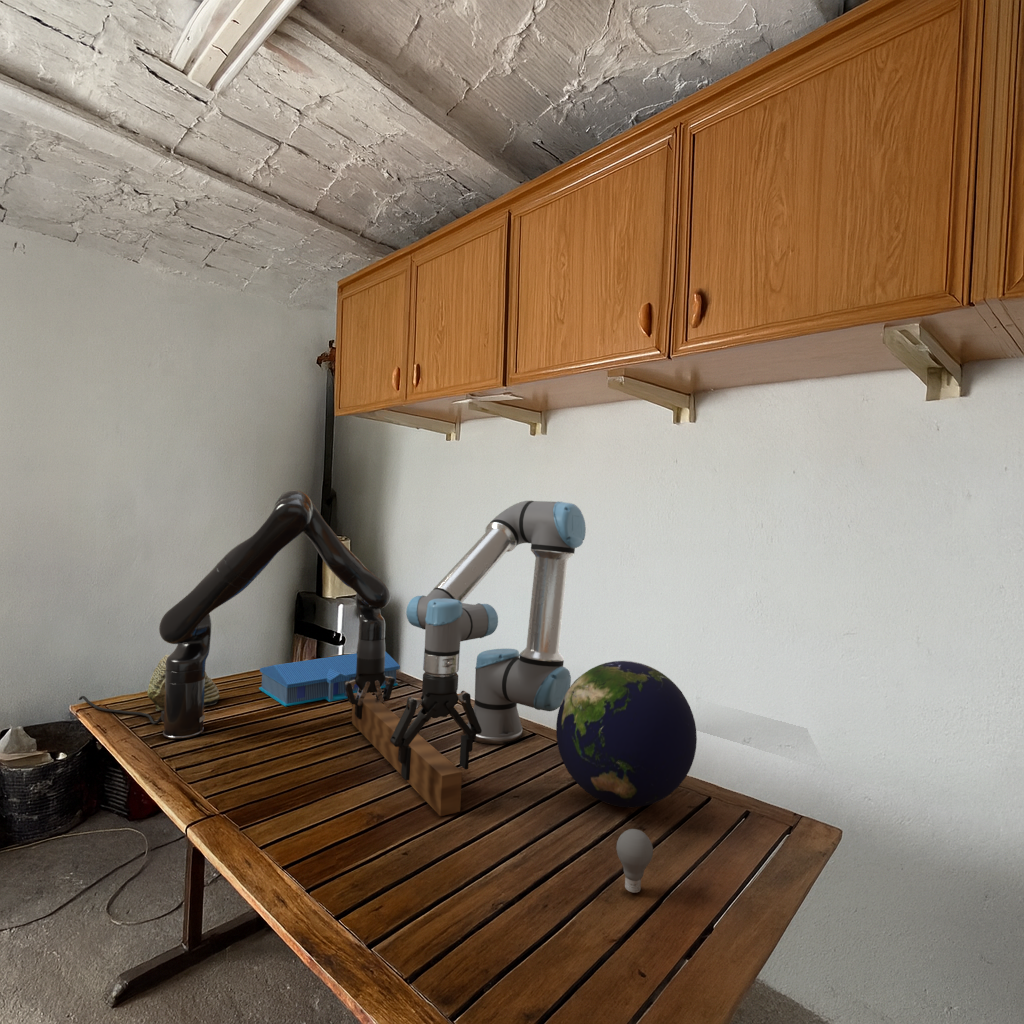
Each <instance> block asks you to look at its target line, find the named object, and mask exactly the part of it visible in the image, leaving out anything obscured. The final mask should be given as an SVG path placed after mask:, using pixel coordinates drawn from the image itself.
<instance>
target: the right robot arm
mask: <svg viewBox="0 0 1024 1024" xmlns="http://www.w3.org/2000/svg"><path fill="white" fill-rule="evenodd" d="M586 528H587V527H586V520H585V517H584V514H583V513H582V510H581V509H580V507H579V506H578V505H576V504H574V503H571V502H565V501H548V500H547V501H545V500H544V501H543V500H524V501H519V502H516V503H514V504H512V505H511V506H509V507H507V508H506V509H504V510H502V511H501V512H500V513H499V514H498V515H496V516H495V517H494V518H493V519H492V520H491V521H490V522H489V523H488V524H487V525H486V527H485V530H484V531H485V532H484V533H483V535H481V537H480V538H479V539H478V540H477V541H476V542H475V544H474V545H473V546H472V547H471V548H470V549H469V550H468V551H467V552H466V553H465V554H464V555H463V556H462V557H461V559H460V560H459V561H458V562H456V564H455V565H454V566H453V567H452V568H451V569H450V570H449V571H448V573H447V574H446V575H445V576H444V577H443V578H442V579H441V580H440V581H439V582H438V583H437V584H436V585H435V587H433V589H432V590H430V592H429V593H428V594H427V595H417V596H413V597H412V598H411V599H410V600H409V602H408V604H407V606H406V613H405V614H406V619H407V622H408V623H409V624H410V625H411V626H413V627H416V628H419V629H422V630H425V633H424V651H423V663H422V664H423V665H422V666H423V667H422V670H423V671H424V672H423V674H422V681H421V683H422V685H421V691H422V692H421V696H420V698H417V697H413V696H408V697H407V699H406V704H405V709H404V711H403V713H402V714H401V717H400V721H399V723H398V725H397V727H396V729H395V731H394V733H393V735H392V737H391V739H390V742H391V743H392V744H393V745H394V746H395V747H399V751H398V760H399V762H400V763H401V764H402V768H401V774H400V776H401V778H403V779H404V781H406V780H409V778H410V761H411V748H410V747H409V746H408V745H409V744H410V743H411V742H412V740H413V739H414V738H415V736H416V735H417V734H419V733H420V731H421V730H422V729H423V727H424V726H425V724H426V723H428V722H430V720H431V718H432V719H438V718H447V717H448V716H450V717H451V718H452V719H453V721H454V722H455V723H456V725H457V726H458V727H459V728H460V730H461V732H463V733H464V734H462V735H460V748H459V766H460V767H461V768H462V769H464V770H469V760H470V753H472V752H473V746H474V741H475V742H478V743H481V744H486V745H507V744H512V743H515V742H518V741H519V740H520V739H522V738H523V725H522V722H521V719H520V714H519V711H518V705H521V706H525V707H528V708H531V709H535V710H537V711H544V712H554V711H556V710H559V708H560V705H561V702H562V700H563V698H564V696H565V694H566V692H567V691H568V689H569V688H570V686H571V685H572V676H571V671H570V670H569V669H568V668H566V667H565V666H564V664H565V663H564V661H565V658H564V656H563V655H562V653H560V643H561V634H562V626H563V625H562V624H563V614H564V606H565V605H564V604H565V603H564V602H565V595H566V594H565V593H566V585H567V584H566V583H567V574H568V563H569V560H570V559H571V558H572V557H574V556H575V552H576V551H575V550H576V549H577V548H579V547H581V546H582V545H583V543H584V541H585V539H586V538H585V537H586ZM521 544H530V546H531V547H530V551H531V552H532V554H533V555H534V557H535V560H534V569H533V580H532V590H531V597H530V607H529V608H530V610H529V618H528V629H527V637H526V647H525V648H524V649H523V650H522V651H521V652H520V651H519V650H518V649H515V648H493V649H487V650H483V651H481V652H480V653H479V654H477V657H476V665H475V668H474V669H475V679H474V680H475V681H474V705H473V706H472V701H471V700H472V698H471V694H470V693H469V692H467V691H465V690H461V691H460V692H459V693H458V688H459V674H458V672H459V669H460V655H461V654H460V653H461V642H465V641H470V640H476V639H483V638H485V637H488V636H491V635H492V634H494V633H495V632H496V631H497V629H498V626H499V616H498V612H497V610H496V609H495V607H494V606H492V605H490V604H488V603H478V602H477V603H475V604H472V603H471V604H470V603H464V601H465V600H466V599H467V598H468V597H469V596H470V594H472V592H473V591H474V590H475V588H477V586H478V585H479V584H480V583H481V582H482V581H483V580H484V578H485V577H486V576H487V575H488V574H489V573H490V571H492V569H493V568H494V567H495V566H496V565H497V563H499V561H500V560H501V559H502V558H503V556H504V555H505V554H506V553H510V552H512V551H514V550H515V548H517V546H518V545H519V546H520V545H521ZM458 702H459V703H460V704H461V706H462V708H463V711H464V713H465V716H466V718H467V721H468V722H466V721H465V719H464V718H463V716H461V715H460V713H459V712H458V710H457V709H456V708H455V706H456V705H457V703H458ZM420 706H421V708H420V710H419V711H418V713H417V716H416V717H415V718H414V716H415V714H416V711H417V710H418V709H419V707H420ZM413 719H414V720H413ZM412 720H413V721H412ZM408 726H409V728H408ZM407 728H408V729H407Z"/></svg>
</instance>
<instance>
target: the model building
mask: <svg viewBox="0 0 1024 1024" xmlns="http://www.w3.org/2000/svg"><path fill="white" fill-rule="evenodd" d="M356 666H357V652H356V653H349V654H342V655H341V654H340V655H335V656H329V657H328V656H327V657H321V658H315V659H314V658H313V659H307V660H300V661H293V662H287V663H278V664H272V665H268V666H264V667H263V666H262V667H260V668H259V672H260V673H261V686H260V687H258V690H260V691H261V692H262V693H264V694H265V695H267V696H268V697H270V698H271V699H273V700H274V701H276V702H277V703H279V704H280V705H282V706H283V707H290V706H297V705H302V704H307V703H312V702H317V701H323V700H325V701H327V702H329V703H330V702H335V701H341V700H346V699H347V700H348V697H347V693H346V689H345V685H344V683H345V681H348V682H349V681H352V680H354V678H355V677H356ZM400 669H401V665H400V664H399V663H398V662H397V661H396V660H395V659H394V658H393V657H392V656H391V654H389V653H388V652H387V651H386V650H385V670H384V674H385V676H387V677H389V676H391V677H393V678H394V679H395V682H394V686H393V687H395V686H399V683H398V682H397V670H400ZM385 686H386V684H385V681H384V682H383V684H382V685H381V689H385ZM358 688H359V687H358V686H357V685H356V684H355V685H354V689H352V690H353V693H357V691H358Z"/></svg>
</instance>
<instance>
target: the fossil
mask: <svg viewBox="0 0 1024 1024" xmlns="http://www.w3.org/2000/svg"><path fill="white" fill-rule="evenodd" d="M169 655H170V654H165V655H164V656H163V657H162V658H161V659H160V660H159V662H158V663H157V666H156V667H155V669H154V670H153V672H152V675H151V677H150V680H149V684H148V688H147V697H148V699H149V700H150V701H152V703H153V704H154V706H155V711H158V712H159V711H160V712H161V711H164V705H165V674H166V660H167V658H168V656H169ZM220 698H221V696H220V690H219V688H218V686H217V685H216V683H215V682H214V681H213V679H212V678H211V677H209V675H208V674H207V672H206V671H205V693H204V707H207V706H213V705H215V704H217V703H218V701H219V699H220Z"/></svg>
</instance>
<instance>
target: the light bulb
mask: <svg viewBox="0 0 1024 1024" xmlns="http://www.w3.org/2000/svg"><path fill="white" fill-rule="evenodd" d="M615 849H616V854H617V857H618V859H619V861H620V863H621V865H622V867H623V873H624V874H623V875H624V876H625V878H624V888H625V890H627V891H628V892H630V893H634V894H635V893H639V892H640V891H641V889H642V887H641V886H642V879H643V877H644V875H645V871H646V868H647V867H648V866H649V864H650V863H651V861H652V859H653V855H654V847H653V843H652V841H651V838H649V836H648V835H647V834H646V833H645V832H643V831H642V830H641V829H636V828H629V829H627V830H625V831H623V832H622V833H621V834H620V835H619V837H618V839H617V841H616V847H615Z"/></svg>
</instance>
